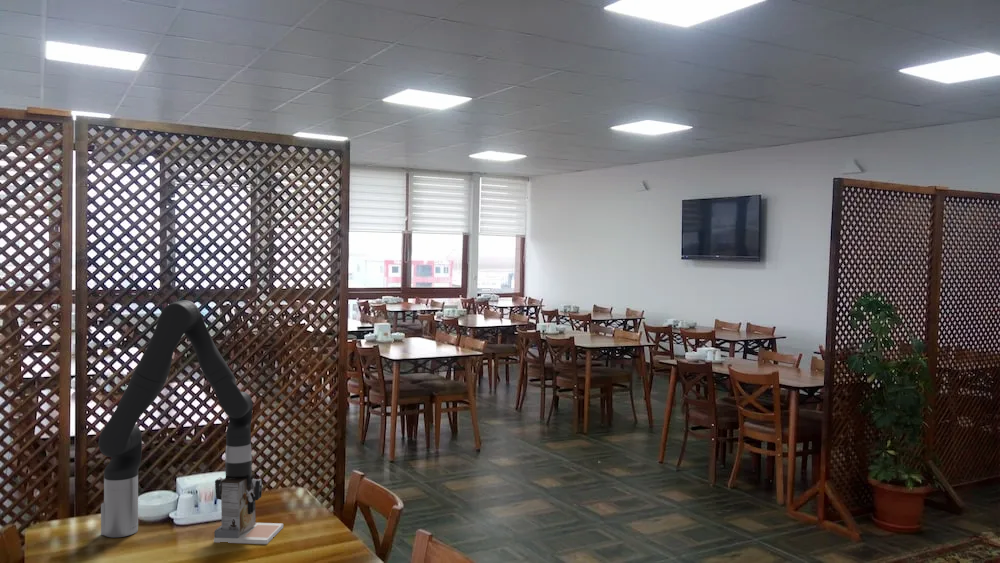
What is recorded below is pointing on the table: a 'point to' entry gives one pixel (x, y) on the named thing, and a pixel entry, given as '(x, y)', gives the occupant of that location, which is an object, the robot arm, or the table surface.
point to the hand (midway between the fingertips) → (238, 512)
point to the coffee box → (236, 505)
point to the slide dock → (249, 534)
